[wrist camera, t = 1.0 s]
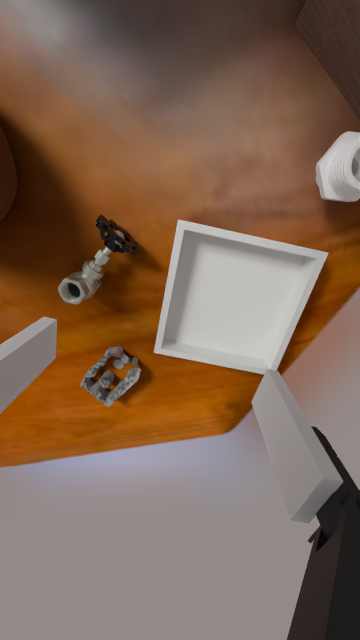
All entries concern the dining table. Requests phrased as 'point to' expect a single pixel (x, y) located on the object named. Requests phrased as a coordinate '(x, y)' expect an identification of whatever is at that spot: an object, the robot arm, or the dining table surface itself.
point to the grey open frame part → (111, 377)
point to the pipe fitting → (340, 169)
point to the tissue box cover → (335, 42)
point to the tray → (233, 297)
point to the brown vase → (6, 176)
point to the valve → (96, 263)
